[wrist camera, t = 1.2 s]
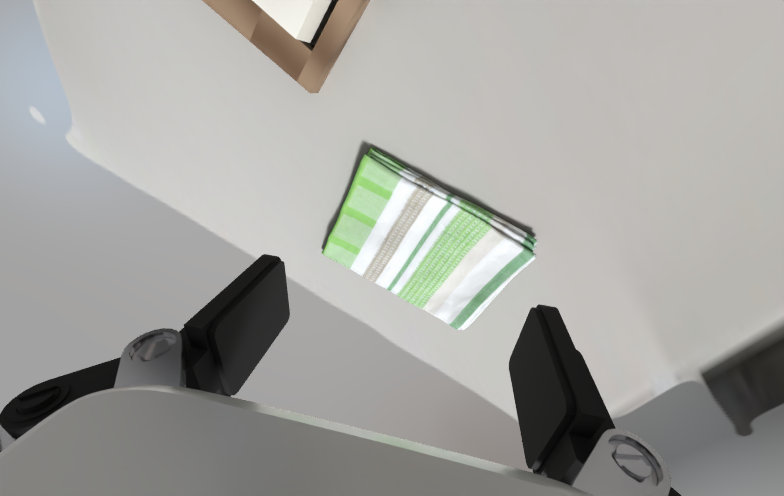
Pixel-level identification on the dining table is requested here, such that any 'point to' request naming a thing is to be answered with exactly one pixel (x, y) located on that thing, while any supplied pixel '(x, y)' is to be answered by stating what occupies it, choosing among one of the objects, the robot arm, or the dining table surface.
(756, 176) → the dining table surface
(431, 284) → the dish towel
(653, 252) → the dining table surface
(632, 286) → the dining table surface
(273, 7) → the cream button
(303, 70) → the switch board
